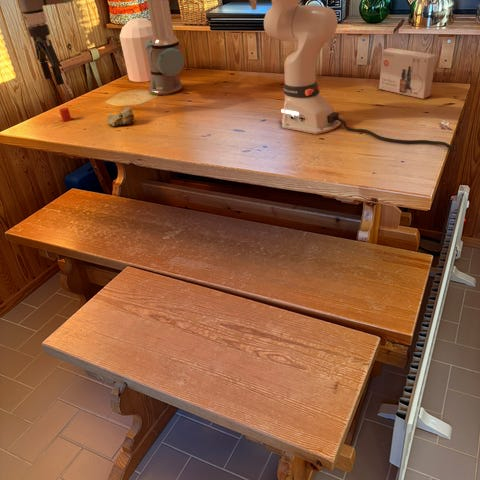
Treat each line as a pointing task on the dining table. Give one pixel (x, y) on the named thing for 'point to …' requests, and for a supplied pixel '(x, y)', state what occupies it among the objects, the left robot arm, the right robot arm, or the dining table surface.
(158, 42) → the left robot arm
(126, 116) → the rock
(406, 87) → the skincare box
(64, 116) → the can
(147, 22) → the container
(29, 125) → the dining table surface
